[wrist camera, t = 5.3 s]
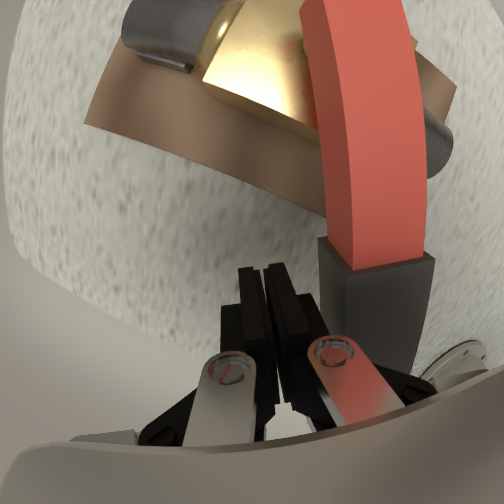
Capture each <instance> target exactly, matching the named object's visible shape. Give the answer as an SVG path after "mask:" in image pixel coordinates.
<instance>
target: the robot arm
mask: <svg viewBox="0 0 504 504" xmlns="http://www.w3.org/2000/svg"><path fill="white" fill-rule="evenodd" d="M263 273H264V282H265V291H266V298H265V294H264V289H263V284H262V280H261V275H260V271H259V270H253V266H252V267H245V268H238V274H239V287H240V299H241V303H239V304H232V305H224V306H221V337H220V353H219V354H216V355H215V356H213V357H211V358H210V359H209V360H208V361H207V362H206V363H205V365H204V367H203V369H202V373H201V377H200V381H199V384H198V387H197V388H196V389H195V390H194V391H192V392H191V393H190V394H188V395H187V396H186V397H184V398H183V399H182V400H181V401H179V402H178V403H177V404H175V405H174V406H173V407H171V408H170V409H168V410H167V411H166V412H164V413H163V414H162V415H160V416H159V417H158V418H156V419H155V420H154V421H152V422H151V423H149V424H148V425H147V426H146V427H145V428H144V429H143V430H142V431H141V432H135V430H134V429H131V430H125V431H117V432H109V433H101V434H90V435H80V436H76V437H74V438H72V439H71V440H69V441H67V442H51V443H46V444H40V445H36V446H32V447H29V448H27V449H25V450H23V451H21V452H20V453H18V455H17V456H16V457H15V458H14V459H13V461H12V462H11V464H10V466H9V468H8V469H7V472H6V474H5V476H4V478H3V481H2V484H1V486H0V504H504V365H502V366H499V367H496V368H494V369H491V370H488V369H487V368H486V367H485V365H484V364H485V361H486V355H487V353H486V349H485V347H484V346H483V345H482V344H481V343H480V342H477V341H471V342H467V343H464V344H462V345H459V346H457V347H456V348H454V349H452V350H451V351H449V352H448V353H447V354H445V355H444V356H443V357H441V358H440V359H439V360H438V361H437V362H435V363H434V364H433V365H432V366H431V367H430V368H429V369H428V370H427V371H426V373H425V374H424V375H423V376H422V377H421V378H418V377H415V376H411V375H408V374H405V373H402V372H399V371H396V370H392V369H389V368H386V367H383V366H380V365H377V364H374V363H371V361H370V360H369V359H368V357H367V356H366V355H365V354H364V352H363V351H362V350H361V349H360V347H359V346H358V345H357V344H356V343H355V342H354V341H353V340H352V339H350V338H348V337H345V336H340V335H330V333H329V331H328V329H327V327H326V324H325V322H324V320H323V318H322V316H321V314H320V311H319V309H318V307H317V305H316V303H315V301H314V299H313V297H312V295H311V293H307V294H301V295H296V292H295V290H294V287H293V285H292V282H291V280H290V277H289V275H288V272H287V270H286V267H285V265H284V263H283V262H281V263H274V264H268V268H267V269H263ZM266 300H267V303H266ZM277 368H278V373H279V378H280V383H281V388H282V393H283V398H284V402H285V403H288V402H291V406H292V410H293V411H294V410H296V411H297V412H299V413H301V414H303V415H305V416H306V418H307V422H308V424H309V426H310V429H311V431H312V433H309V434H304V435H299V436H294V437H288V438H282V439H275V440H268V441H266V423H267V422H268V421H269V420H270V419H271V418H272V417H273V416H274V415H275V414H276V413H275V404H280V396H279V385H278V374H277Z"/></svg>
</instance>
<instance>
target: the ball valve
mask: <svg viewBox="0 0 504 504" xmlns="http://www.w3.org/2000/svg"><path fill="white" fill-rule="evenodd" d="M304 1H305V0H133V1H132V2H131V4H130V5H129V7H128V9H127V12H126V14H125V17H124V20H123V24H122V30H121V38H122V42H123V44H124V46H125V47H127V48H131V49H135V50H137V51H136V53H135V54H136V55H137V56H138V57H140V58H141V59H142V60H144V61H145V62H149V63H152V64H156V65H160V66H163V67H167V68H170V69H173V70H177V71H180V72H183V73H186V74H189V75H190V73H191V71H192V69H193V66H194V71H195V74H197V75H200V76H203V77H204V78H203V80H202V81H203V83H204V85H205V86H206V88H207V90H208V91H209V93H210V95H211V96H212V98H213V100H214V101H217V102H219V103H222V104H225V105H227V106H230V107H232V108H235V109H237V110H240V111H242V112H245V113H247V114H249V115H252V116H254V117H257V118H259V119H261V120H263V121H266V122H268V123H270V124H272V125H275V126H277V127H279V128H281V129H283V130H285V131H288V132H290V133H292V134H294V135H296V136H298V137H300V138H302V139H304V140H306V141H308V142H310V143H312V144H314V145H316V146H318V147H320V148H321V146H320V137H319V129H318V121H317V114H316V106H315V99H314V92H313V86H312V80H311V74H310V68H309V62H308V57H307V55H306V54H305V52H304V49H303V38H304V35H303V30H302V26H301V21H300V16H299V12H298V11H299V9H300V8H301V6H302V4H303V2H304ZM410 36H411V35H410ZM411 40H412V44H413V49H414V51H415V49H416V46H417V43H418V41H417V40H416V39H415V38H414V37H412V36H411ZM423 114H424V124H425V138H426V160H427V179H429V178H431V177H433V176H435V175H436V174H437V173H439V172H440V171H441V170H442V168H443V167H444V166H445V165H446V163H447V161H448V160H449V158H450V155H451V153H452V149H453V135H452V132H451V131H450V129H449V128H448V127H447V126H446V125H445V124H443V123H442V122H441V121H440V120H439V119H438V118H437V117H435V116H434V115H433V114H432V113H431V112H430V111H428V110H427V109H426V108H425V107H424V106H423Z"/></svg>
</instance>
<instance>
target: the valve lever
mask: <svg viewBox="0 0 504 504" xmlns="http://www.w3.org/2000/svg"><path fill="white" fill-rule="evenodd" d="M298 12H299V16H300V21H301V26H302V30H303V35H304V38H303V49H304V52H305V54H306V55H307V57H308V62H309V68H310V74H311V80H312V86H313V92H314V99H315V106H316V114H317V121H318V129H319V137H320V146H321V156H322V166H323V176H324V188H325V201H326V216H327V233H328V236H326V237H320V238H317V241H318V258H319V280H320V314H321V316H322V318H323V320H324V322H325V324H326V327H327V329H328V331H329V333H330V335H340V336H345V337H348V338H350V339H352V340H353V341H354V342H355V343H356V344H357V345H358V346H359V347H360V349H361V350H362V351H363V352H364V354H365V355H366V356H367V357H368V359H369V360H370V361H371V363H374V364H377V365H380V366H383V367H386V368H389V369H392V370H396V371H399V372H402V373H405V374H408V375H410V373H411V369H412V366H413V363H414V359H415V356H416V352H417V348H418V345H419V341H420V337H421V333H422V329H423V325H424V320H425V316H426V311H427V306H428V301H429V296H430V290H431V284H432V278H433V272H434V265H435V258H433V257H432V256H431V255H429V254H428V253H427V252H425V251H424V250H423V248H424V237H425V223H426V201H427V160H426V138H425V124H424V114H423V104H422V96H421V89H420V82H419V76H418V70H417V64H416V59H415V54H414V49H413V44H412V40H411V36H410V31H409V27H408V24H407V20H406V16H405V13H404V9H403V6H402V2H401V0H305V1H304V2H303V4H302V6H301V8H300V9H299V11H298Z"/></svg>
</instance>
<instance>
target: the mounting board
mask: <svg viewBox="0 0 504 504" xmlns="http://www.w3.org/2000/svg"><path fill="white" fill-rule="evenodd" d="M136 51H137V50H135V49H131V48H127V47H125V46H124V44H123V42H122V38H121V36H120V38H119V40H118V42H117V44H116V46H115V48H114V50H113V52H112V54H111V56H110V58H109V61H108V63H107V65H106V67H105V70H104V72H103V74H102V76H101V79H100V81H99V84H98V86H97V89H96V91H95V94H94V96H93V99H92V102H91V104H90V107H89V110H88V113H87V116H86V119H85V122H84V124H87V125H91V126H94V127H97V128H100V129H104V130H107V131H110V132H113V133H116V134H119V135H122V136H125V137H128V138H131V139H134V140H137V141H140V142H143V143H146V144H148V145H151V146H154V147H157V148H160V149H163V150H165V151H168V152H171V153H173V154H176V155H179V156H182V157H184V158H187V159H190V160H192V161H195V162H197V163H200V164H203V165H205V166H208V167H210V168H213V169H215V170H218V171H220V172H223V173H225V174H228V175H230V176H233V177H235V178H238V179H240V180H242V181H245V182H247V183H250V184H252V185H254V186H257V187H259V188H261V189H264V190H266V191H268V192H271V193H273V194H275V195H277V196H280V197H282V198H284V199H286V200H289V201H291V202H293V203H295V204H298V205H300V206H302V207H304V208H306V209H308V210H311V211H313V212H315V213H317V214H319V215H321V216H323V217H326V218H327V216H326V201H325V188H324V176H323V166H322V156H321V148H320V147H318V146H316V145H314V144H312V143H310V142H308V141H306V140H304V139H302V138H300V137H298V136H296V135H294V134H292V133H290V132H288V131H285V130H283V129H281V128H279V127H277V126H275V125H272V124H270V123H268V122H266V121H263V120H261V119H259V118H257V117H254V116H252V115H249V114H247V113H245V112H242V111H240V110H237V109H235V108H232V107H230V106H227V105H225V104H222V103H219V102H217V101H214V100H213V98H212V96H211V95H210V93H209V91H208V90H207V88H206V86H205V85H204V83H203V81H202V80H203V78H204V77H203V76H200V75H197V74H195V71H194V66H193V69H192V71H191V73H190V75H189V74H186V73H183V72H180V71H177V70H173V69H170V68H167V67H163V66H160V65H156V64H152V63H149V62H145V61H144V60H142V59H141V58H140V57H138V56H137V55H136V54H135V53H136ZM414 54H415V59H416V64H417V70H418V76H419V82H420V89H421V96H422V104H423V106H424V107H425V108H426V109H427V110H428V111H430V112H431V113H432V114H433V115H434V116H435V117H437V118H438V119H439V120H440V121H441V122H442V123H443V124H444V122H445V119H446V117H447V114H448V111H449V109H450V106H451V103H452V100H453V97H454V94H455V91H456V88H457V86H456V85H455V84H454V83H453V82H452V81H451V80H450V79H448V78H447V77H446V76H445V75H444V74H443V73H442V72H441V71H440V70H439V69H437V68H436V67H435V66H434V65H433V64H432V63H430V62H429V61H428V60H427V59H426V58H424V57H423V56H422V55H421V54H420V53H418V52H417V51H416V50H415V51H414Z"/></svg>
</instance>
